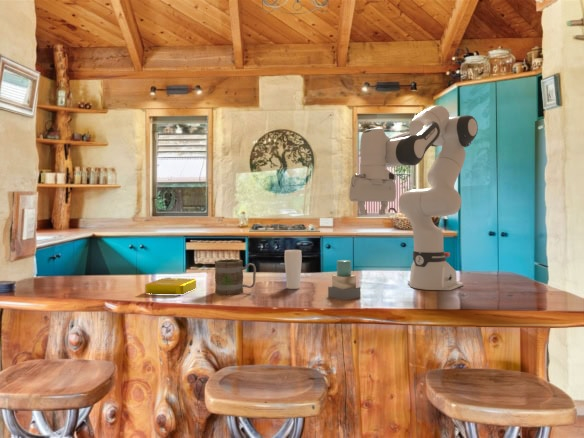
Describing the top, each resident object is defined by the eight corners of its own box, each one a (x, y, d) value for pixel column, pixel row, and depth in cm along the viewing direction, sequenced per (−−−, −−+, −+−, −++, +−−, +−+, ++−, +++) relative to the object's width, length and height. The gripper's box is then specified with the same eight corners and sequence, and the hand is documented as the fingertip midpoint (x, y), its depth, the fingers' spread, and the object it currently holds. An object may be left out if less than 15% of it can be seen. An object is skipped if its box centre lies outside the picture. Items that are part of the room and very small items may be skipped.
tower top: (345, 284, 149) (345, 273, 149) (356, 287, 144) (356, 275, 144) (332, 286, 146) (332, 275, 145) (342, 289, 140) (342, 277, 140)
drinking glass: (304, 289, 159) (303, 251, 159) (287, 290, 157) (287, 251, 157) (298, 286, 165) (298, 249, 165) (282, 287, 163) (282, 250, 163)
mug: (211, 295, 149) (211, 263, 148) (217, 289, 159) (217, 259, 159) (254, 295, 148) (254, 262, 148) (258, 289, 159) (257, 259, 159)
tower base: (344, 294, 150) (344, 283, 150) (360, 298, 144) (360, 287, 144) (328, 297, 145) (328, 286, 145) (344, 301, 139) (344, 289, 139)
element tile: (143, 296, 151) (142, 283, 151) (163, 288, 166) (163, 276, 165) (180, 297, 148) (180, 284, 148) (198, 289, 163) (197, 277, 163)
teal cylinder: (344, 273, 148) (344, 259, 148) (354, 275, 144) (353, 261, 144) (334, 275, 145) (333, 261, 145) (344, 277, 141) (343, 262, 141)
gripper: (358, 172, 132) (358, 215, 133) (399, 175, 145) (399, 214, 145) (345, 174, 137) (345, 215, 138) (385, 176, 150) (385, 214, 150)
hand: (373, 214), depth 141 cm, fingers open, 8 cm apart
